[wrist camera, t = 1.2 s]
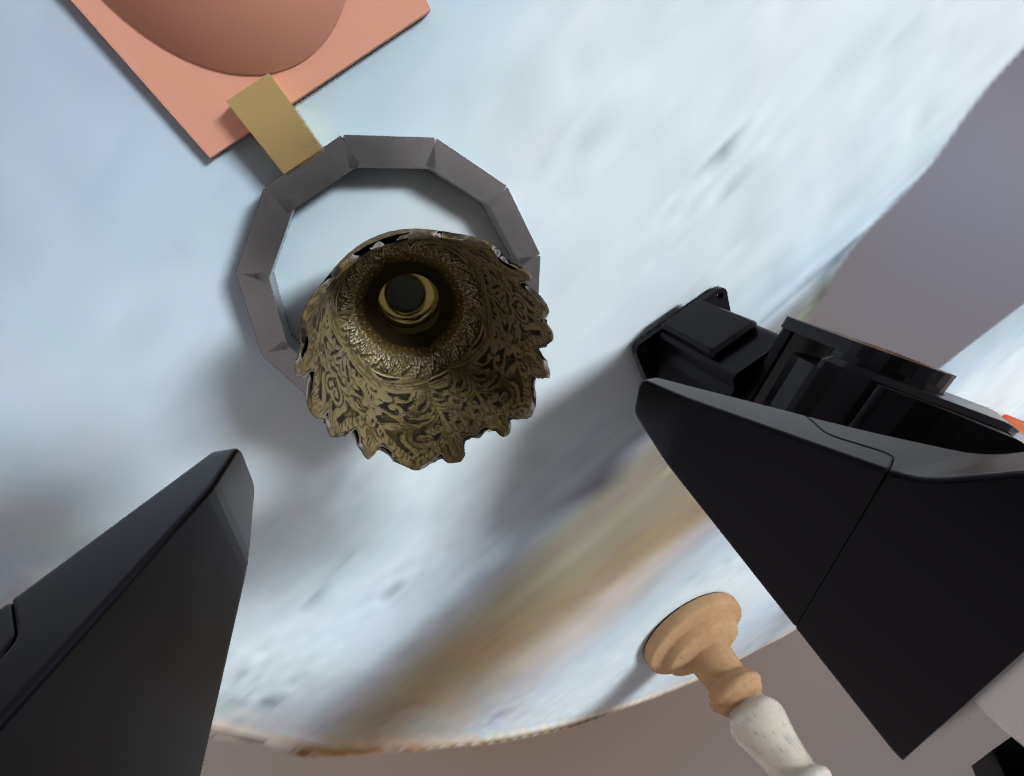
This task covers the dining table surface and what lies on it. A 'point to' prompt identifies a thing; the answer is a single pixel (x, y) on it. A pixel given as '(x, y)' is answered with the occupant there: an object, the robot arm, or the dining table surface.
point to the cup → (423, 346)
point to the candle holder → (729, 682)
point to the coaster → (241, 49)
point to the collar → (318, 169)
